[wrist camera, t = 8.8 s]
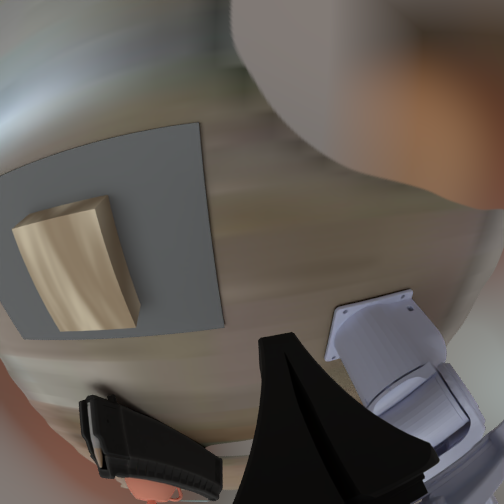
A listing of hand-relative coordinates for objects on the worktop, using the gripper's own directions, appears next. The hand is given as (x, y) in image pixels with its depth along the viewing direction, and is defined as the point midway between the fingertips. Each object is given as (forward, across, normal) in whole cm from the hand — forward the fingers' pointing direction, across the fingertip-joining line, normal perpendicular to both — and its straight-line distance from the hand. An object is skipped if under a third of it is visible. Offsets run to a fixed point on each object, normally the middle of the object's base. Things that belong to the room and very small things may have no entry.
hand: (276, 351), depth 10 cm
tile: (+8, +8, 0) cm, 12 cm away
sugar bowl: (+10, +25, +56) cm, 62 cm away
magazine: (+10, +14, +30) cm, 34 cm away
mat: (+10, +13, 0) cm, 16 cm away
